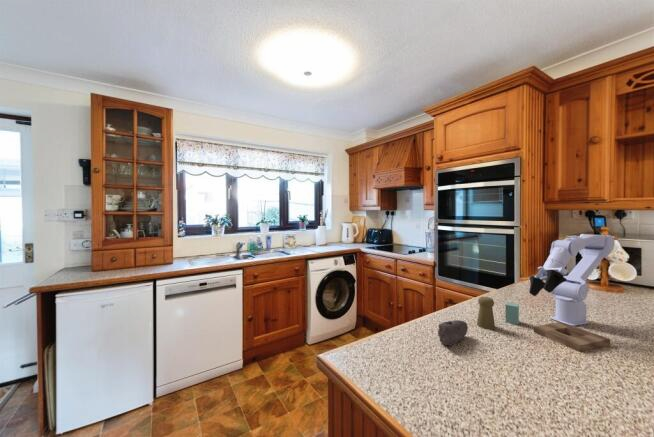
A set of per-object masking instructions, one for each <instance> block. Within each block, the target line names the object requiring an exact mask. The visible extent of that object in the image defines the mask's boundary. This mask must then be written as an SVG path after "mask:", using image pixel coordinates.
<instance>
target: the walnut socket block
mask: <svg viewBox="0 0 654 437" xmlns="http://www.w3.org/2000/svg"><path fill="white" fill-rule="evenodd" d="M533 333H535V334H538V335H540V336H542V337H544V338H546V339H549V340H551V341H554V342H556V343H559V344H561V345H563V346H566V347H567V348H569V349H571V350H574V351H577V352H580V353H581V352H585V351H589V350H595V349H599V348H602V347H606V346H607V347H608V346H610V345H611V339H610V338H608V337H605V336H603V335H599V334H597V333H594V332H591V331H589V330H585V329H583V328H580V327H577V326H572V325H569V324H566V323H563V322H559V321H557V322H554V323H545V324H540V325H535V326H533Z"/></svg>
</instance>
